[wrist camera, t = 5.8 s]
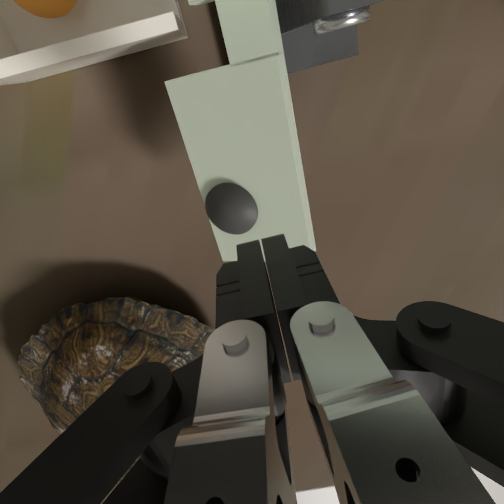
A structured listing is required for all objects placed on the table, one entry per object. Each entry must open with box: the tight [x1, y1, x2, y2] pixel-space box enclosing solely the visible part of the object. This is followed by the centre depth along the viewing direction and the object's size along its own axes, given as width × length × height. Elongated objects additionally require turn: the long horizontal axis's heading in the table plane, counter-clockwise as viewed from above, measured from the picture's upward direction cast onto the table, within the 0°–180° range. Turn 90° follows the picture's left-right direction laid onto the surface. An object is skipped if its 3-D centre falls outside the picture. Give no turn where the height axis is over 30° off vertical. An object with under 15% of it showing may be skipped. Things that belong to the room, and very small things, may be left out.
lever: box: [165, 0, 316, 261], centre depth 10 cm, size 17×17×4 cm
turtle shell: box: [18, 296, 215, 484], centre depth 28 cm, size 16×9×20 cm
